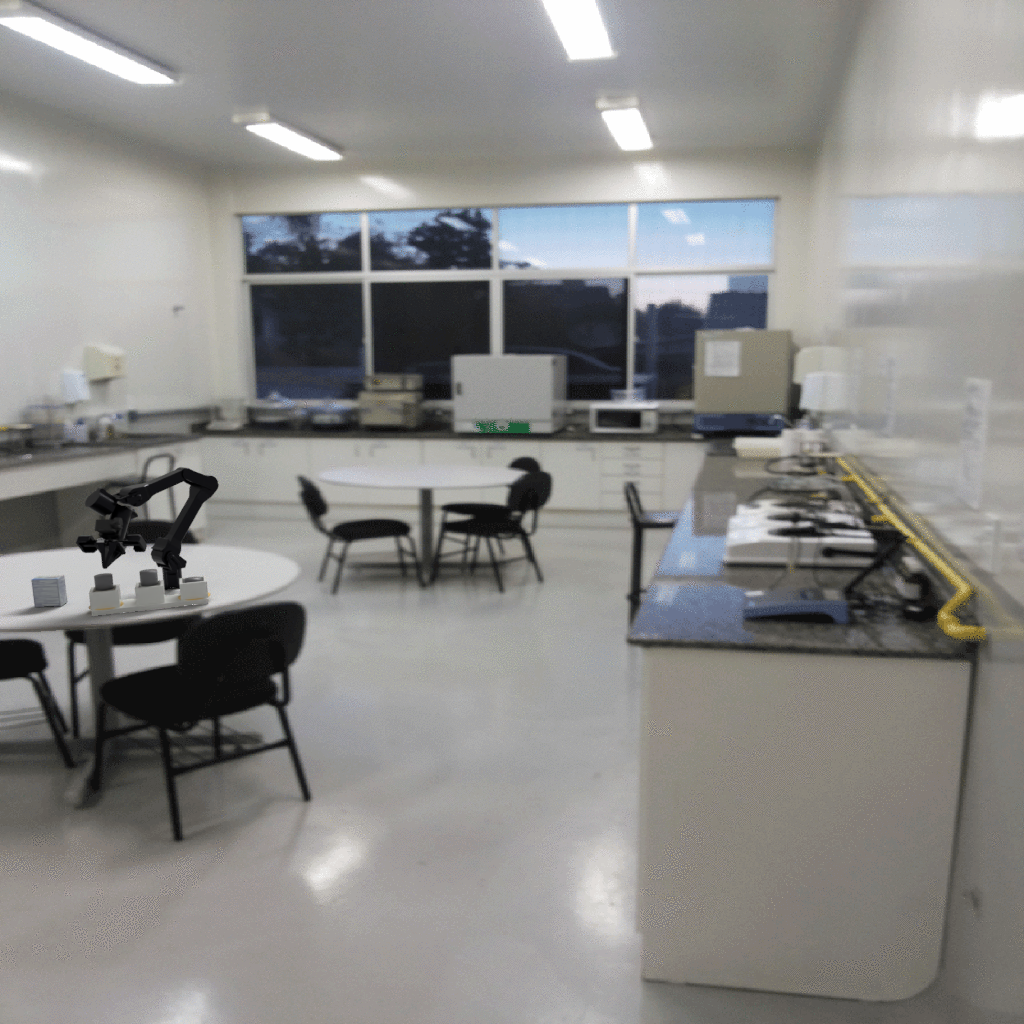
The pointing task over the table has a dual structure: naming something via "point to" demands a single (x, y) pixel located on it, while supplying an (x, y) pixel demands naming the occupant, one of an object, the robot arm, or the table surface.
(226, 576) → the table surface
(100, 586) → the button
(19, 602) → the table surface
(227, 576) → the table surface
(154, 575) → the button
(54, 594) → the medicine box
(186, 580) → the button
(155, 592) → the button board
